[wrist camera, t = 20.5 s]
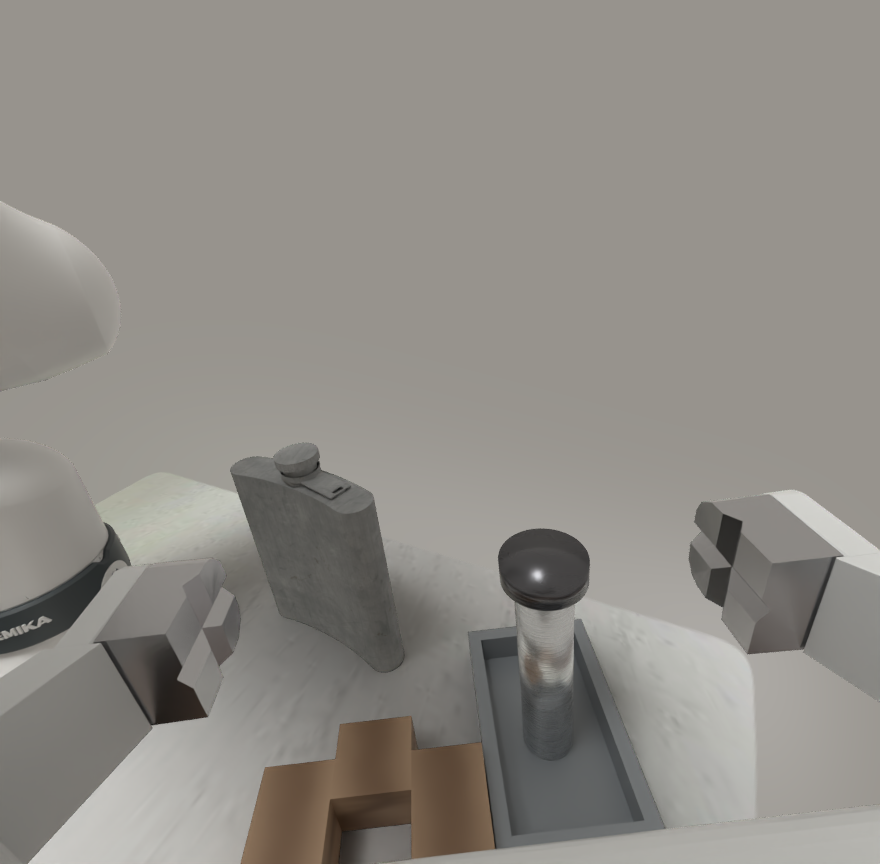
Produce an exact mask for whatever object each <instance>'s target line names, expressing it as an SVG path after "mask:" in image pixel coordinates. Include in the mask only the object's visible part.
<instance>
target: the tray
mask: <svg viewBox="0 0 880 864" xmlns="http://www.w3.org/2000/svg"><path fill="white" fill-rule="evenodd" d="M468 636H469V646H470V655H471V663H472V671H473V679H474V686H475V694H476V702H477V709H478V717H479V725H480V733H481V740H482V748H483V756H484V763H485V771H486V779H487V787H488V794H489V802H490V810H491V817H492V825H493V833H494V841H495V848H496V849H500V848H509V847H517V846H526V845H534V844H543V843H551V842H559V841H568V840H576V839H585V838H593V837H602V836H611V835H619V834H628V833H636V832H645V831H653V830H662V829H665V827H664V824H663V822H662V819H661V817H660V814H659V812H658V809H657V807H656V804H655V802H654V799H653V797H652V794H651V792H650V789H649V787H648V784H647V782H646V779H645V777H644V774H643V772H642V769H641V767H640V764H639V762H638V759H637V757H636V754H635V752H634V750H633V747H632V745H631V742H630V740H629V737H628V735H627V732H626V730H625V727H624V725H623V722H622V720H621V717H620V715H619V712H618V710H617V707H616V705H615V702H614V700H613V697H612V695H611V692H610V690H609V687H608V685H607V682H606V680H605V677H604V675H603V672H602V670H601V667H600V665H599V662H598V660H597V657H596V655H595V652H594V650H593V647H592V645H591V642H590V640H589V637H588V635H587V632H586V630H585V627H584V625H583V622H582V620H581V619H576V620H574V664H573V732H572V746H571V748H570V751H569V752H568V753H567V754H566V755H565V756H564V757H563V758H561V759H559V760H555V761H547V760H543V759H540V758H538V757H537V756H535V755H534V754H533V753H532V752H531V751H530V750H529V749H528V747H527V746H526V743H525V741H524V736H523V722H522V707H521V691H520V676H519V660H518V645H517V629H516V626H515V627H506V628H498V629H489V630H480V631H472V632H468Z"/></svg>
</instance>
